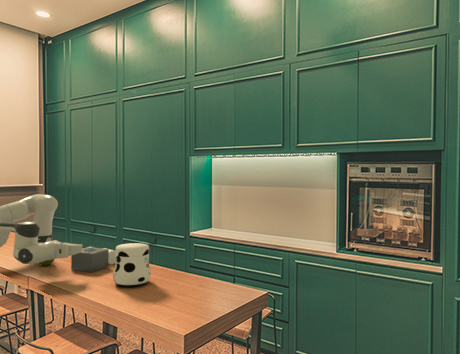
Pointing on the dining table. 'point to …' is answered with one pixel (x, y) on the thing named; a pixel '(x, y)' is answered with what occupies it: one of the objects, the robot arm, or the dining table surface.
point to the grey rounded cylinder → (90, 249)
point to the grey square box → (90, 260)
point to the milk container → (132, 264)
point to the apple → (46, 262)
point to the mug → (111, 256)
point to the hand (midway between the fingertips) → (74, 245)
